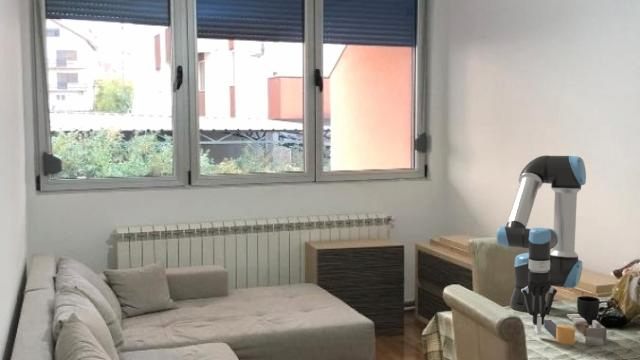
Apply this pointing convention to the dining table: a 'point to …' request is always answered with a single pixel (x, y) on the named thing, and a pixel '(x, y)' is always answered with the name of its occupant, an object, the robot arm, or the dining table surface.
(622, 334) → the dining table surface
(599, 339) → the rail
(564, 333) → the grey and orange bar
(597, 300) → the mug
